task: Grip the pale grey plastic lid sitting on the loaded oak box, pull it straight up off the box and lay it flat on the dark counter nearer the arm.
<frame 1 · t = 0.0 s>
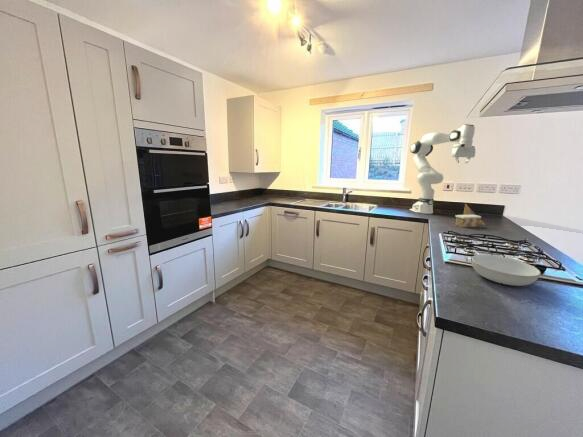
hand: (461, 163, 195), 48 cm above the counter, tool pointing down, fingers open, 8 cm apart
sandwich container: (473, 223, 197), on the counter
crate: (466, 226, 185), on the counter
serving bowl: (499, 279, 98), on the counter
lid: (468, 217, 184), point 7 cm above the counter, touching crate
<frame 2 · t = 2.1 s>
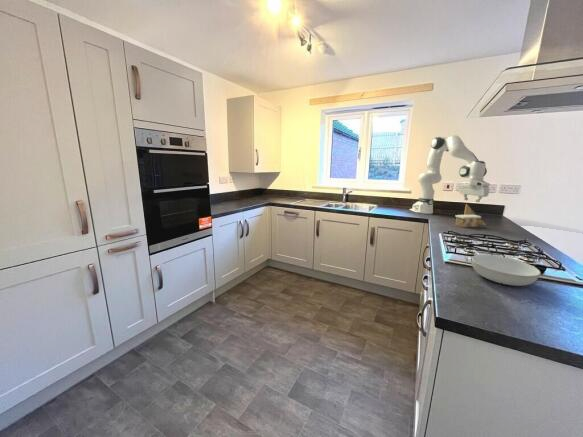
hand: (471, 201, 181), 20 cm above the counter, tool pointing down, fingers open, 8 cm apart
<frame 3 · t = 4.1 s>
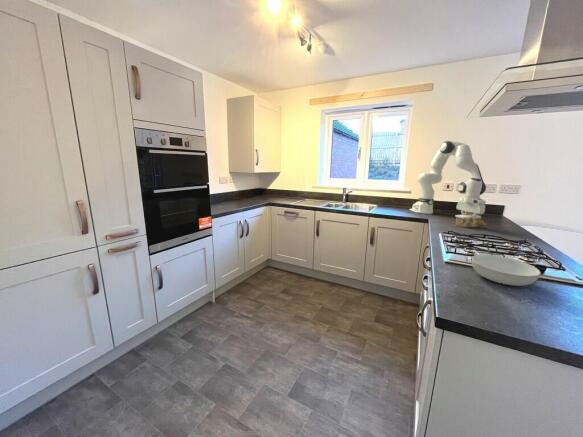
hand: (468, 217, 184), 7 cm above the counter, tool pointing down, fingers closed on lid, 7 cm apart
lid: (468, 217, 184), point 7 cm above the counter, touching crate, gripper
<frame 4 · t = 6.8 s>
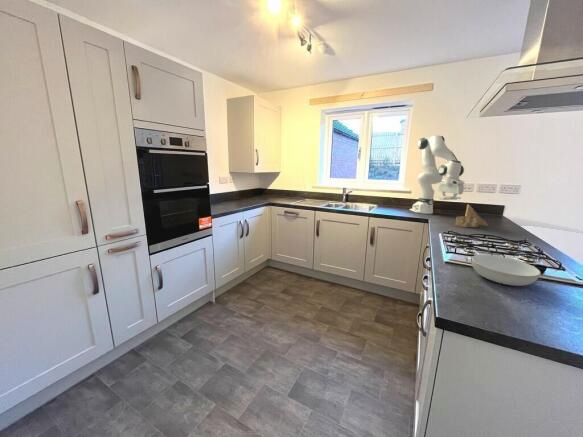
hand: (448, 198, 193), 20 cm above the counter, tool pointing down, fingers closed on lid, 7 cm apart
lid: (448, 198, 193), point 20 cm above the counter, touching gripper
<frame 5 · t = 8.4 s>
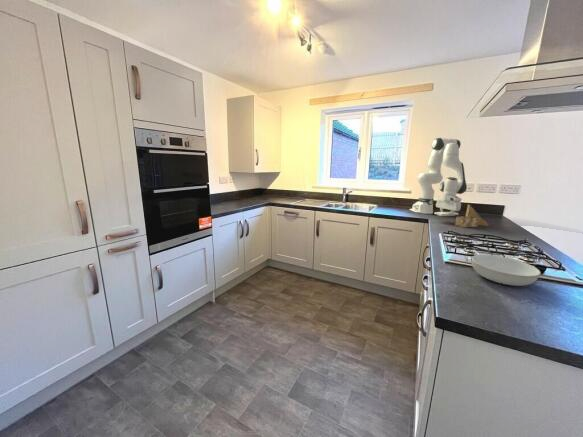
hand: (446, 214, 195), 6 cm above the counter, tool pointing down, fingers closed on lid, 7 cm apart
lid: (446, 214, 195), point 7 cm above the counter, touching gripper
when the fingers open (2 cm above the counter, at t = 9.9 s): lid drops 2 cm, point 1 cm above the counter.
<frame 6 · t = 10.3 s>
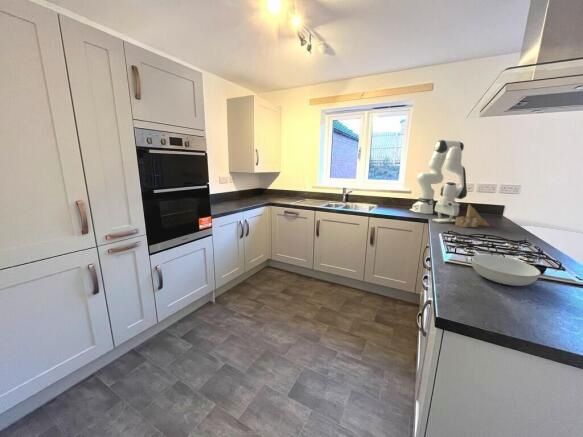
hand: (444, 219, 196), 2 cm above the counter, tool pointing down, fingers open, 8 cm apart
lid: (444, 221, 197), point 1 cm above the counter
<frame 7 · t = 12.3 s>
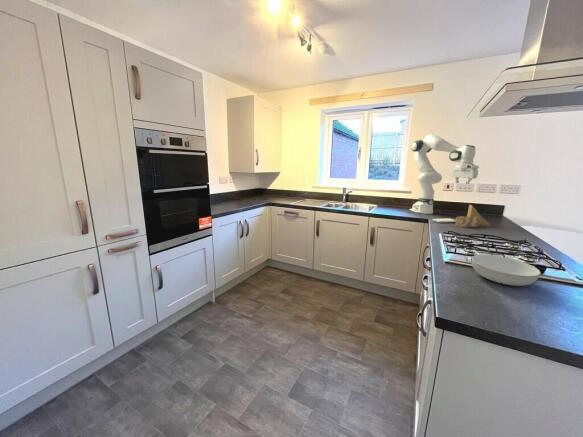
hand: (462, 183, 194), 32 cm above the counter, tool pointing down, fingers open, 8 cm apart
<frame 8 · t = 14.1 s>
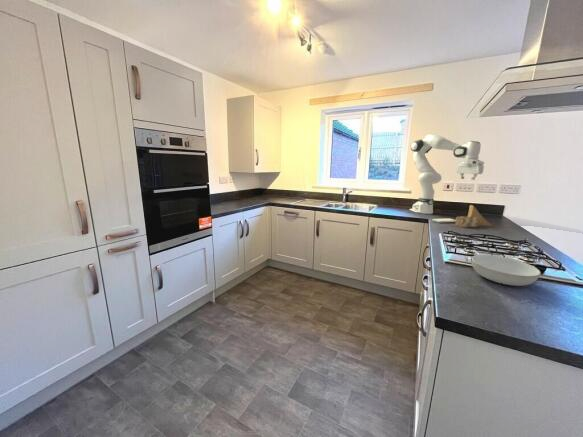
hand: (467, 179, 195), 35 cm above the counter, tool pointing down, fingers open, 8 cm apart
at the end: lid inside the target area (0.6 cm from its centre), point 0.7 cm above the counter; lid tilted 0°; lid touching counter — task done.
